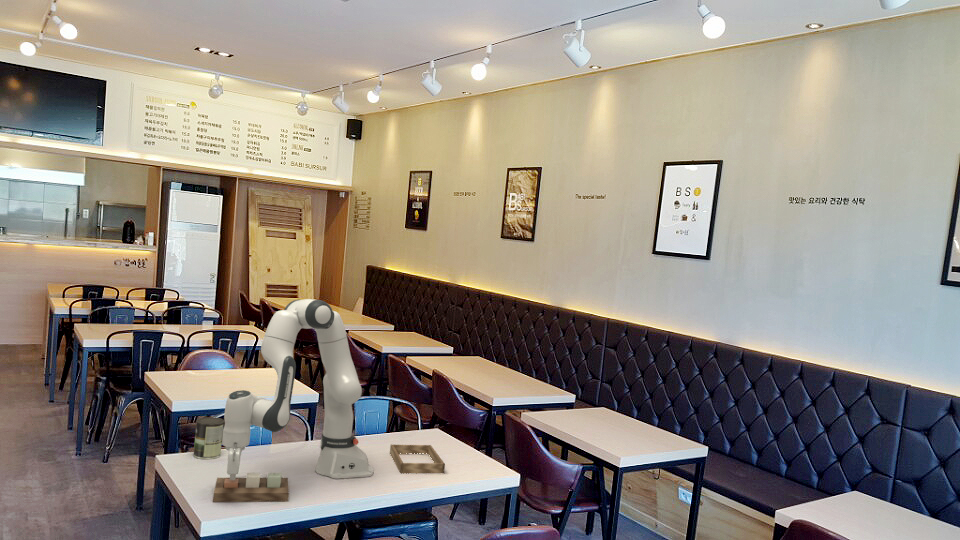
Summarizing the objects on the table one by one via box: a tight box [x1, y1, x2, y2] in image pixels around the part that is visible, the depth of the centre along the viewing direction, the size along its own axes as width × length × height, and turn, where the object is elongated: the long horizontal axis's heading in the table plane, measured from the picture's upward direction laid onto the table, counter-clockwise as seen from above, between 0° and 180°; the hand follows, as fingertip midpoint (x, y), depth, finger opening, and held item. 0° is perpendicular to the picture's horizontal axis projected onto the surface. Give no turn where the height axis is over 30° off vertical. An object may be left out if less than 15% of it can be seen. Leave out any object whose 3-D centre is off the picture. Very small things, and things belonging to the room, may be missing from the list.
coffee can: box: [192, 416, 225, 460], centre depth 270 cm, size 10×10×14 cm
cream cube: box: [245, 472, 261, 488], centre depth 236 cm, size 4×4×4 cm
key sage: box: [266, 472, 282, 488], centre depth 238 cm, size 4×4×4 cm
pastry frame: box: [389, 444, 446, 475], centre depth 287 cm, size 18×26×4 cm
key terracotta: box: [224, 479, 238, 488], centre depth 233 cm, size 4×4×4 cm
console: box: [212, 477, 290, 503], centre depth 236 cm, size 24×15×3 cm, turn 107°
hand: (232, 478), depth 233 cm, fingers closed
